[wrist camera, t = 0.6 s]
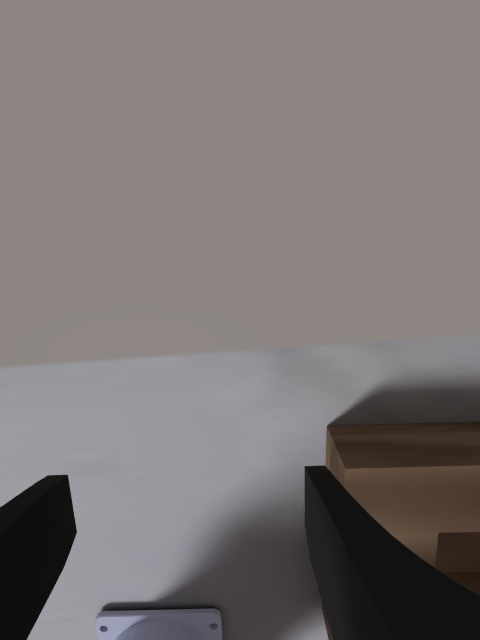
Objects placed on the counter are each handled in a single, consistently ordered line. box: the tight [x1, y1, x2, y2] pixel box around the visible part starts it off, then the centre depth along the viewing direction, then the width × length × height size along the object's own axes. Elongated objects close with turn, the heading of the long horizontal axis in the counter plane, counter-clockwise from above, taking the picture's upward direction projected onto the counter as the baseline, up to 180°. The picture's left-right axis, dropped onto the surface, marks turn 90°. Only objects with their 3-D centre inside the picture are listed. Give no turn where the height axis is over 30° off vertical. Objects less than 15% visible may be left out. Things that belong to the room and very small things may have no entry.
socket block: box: [322, 422, 480, 640], centre depth 22 cm, size 13×15×4 cm
